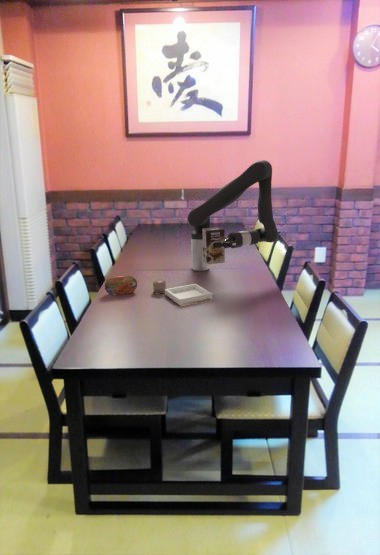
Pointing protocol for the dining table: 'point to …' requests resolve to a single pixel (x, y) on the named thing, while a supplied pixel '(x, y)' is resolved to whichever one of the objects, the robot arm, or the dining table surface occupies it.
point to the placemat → (195, 302)
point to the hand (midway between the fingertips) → (209, 244)
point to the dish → (188, 294)
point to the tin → (120, 285)
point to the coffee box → (209, 238)
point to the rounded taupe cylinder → (159, 286)
